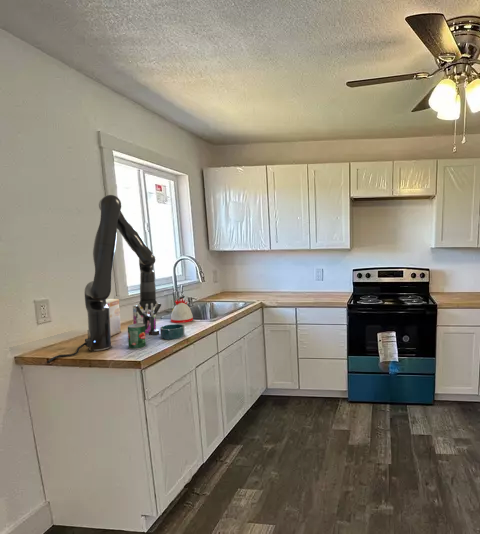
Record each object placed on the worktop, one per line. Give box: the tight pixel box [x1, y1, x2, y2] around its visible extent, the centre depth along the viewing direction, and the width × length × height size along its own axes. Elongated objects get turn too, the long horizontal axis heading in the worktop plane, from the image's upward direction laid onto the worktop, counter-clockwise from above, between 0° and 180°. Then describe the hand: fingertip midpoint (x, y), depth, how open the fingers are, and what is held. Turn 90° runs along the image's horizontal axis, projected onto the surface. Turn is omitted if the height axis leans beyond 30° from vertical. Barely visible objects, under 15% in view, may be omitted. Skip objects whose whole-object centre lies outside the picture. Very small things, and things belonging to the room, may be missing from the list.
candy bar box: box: [132, 304, 157, 335], centre depth 197 cm, size 11×5×16 cm, turn 141°
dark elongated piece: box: [143, 314, 160, 337], centre depth 182 cm, size 16×5×9 cm, turn 42°
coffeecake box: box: [106, 298, 122, 337], centre depth 193 cm, size 15×7×20 cm, turn 175°
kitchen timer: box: [170, 297, 194, 324], centre depth 229 cm, size 14×14×15 cm
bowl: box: [159, 323, 186, 340], centre depth 190 cm, size 12×13×6 cm
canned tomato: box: [127, 323, 147, 350], centre depth 172 cm, size 8×8×11 cm
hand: (148, 322), depth 183 cm, fingers closed on dark elongated piece
